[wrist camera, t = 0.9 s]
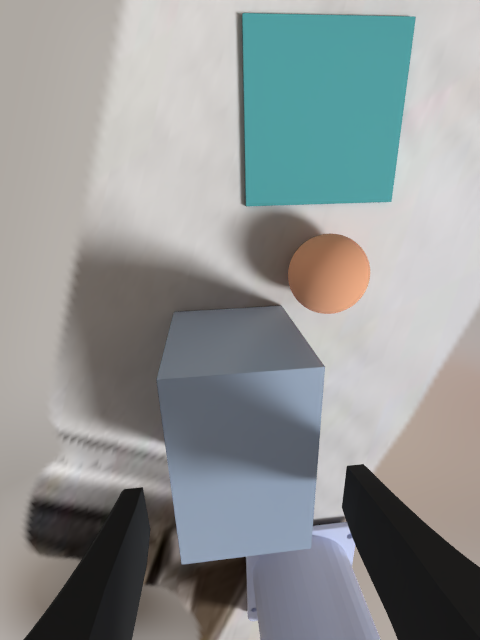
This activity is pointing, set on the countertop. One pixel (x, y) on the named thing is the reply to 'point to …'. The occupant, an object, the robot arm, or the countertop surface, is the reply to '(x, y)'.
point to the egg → (329, 273)
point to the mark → (323, 106)
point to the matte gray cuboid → (240, 431)
